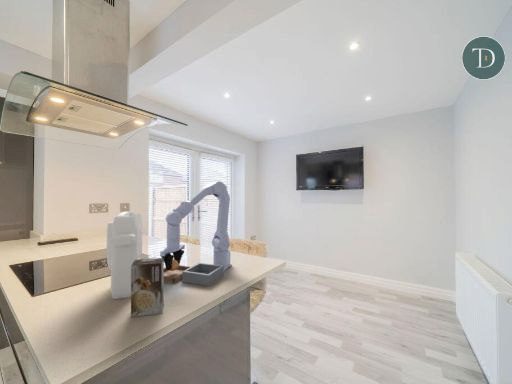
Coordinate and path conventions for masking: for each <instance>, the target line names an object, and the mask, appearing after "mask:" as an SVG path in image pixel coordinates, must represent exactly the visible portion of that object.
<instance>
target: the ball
mask: <svg viewBox="0 0 512 384" xmlns="http://www.w3.org/2000/svg"><path fill="white" fill-rule="evenodd" d="M179 265H180V264H179V263H178V261H177V260H174V259H173V261H172V269H171V270H170V271H175V270H176V269H177V268H178V266H179Z"/></svg>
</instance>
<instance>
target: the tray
mask: <svg viewBox="0 0 512 384" xmlns="http://www.w3.org/2000/svg"><path fill="white" fill-rule="evenodd" d="M190 267H191V266H187V265H182V264H181V265H180V264H179V266H178V268H177V269H176V270H175V271H170V270H166V266H164V283H165V284H171V285H174V284H176V283H179V282H180V281H182V271H184V270H186V269H188V268H190Z"/></svg>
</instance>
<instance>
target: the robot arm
mask: <svg viewBox="0 0 512 384" xmlns="http://www.w3.org/2000/svg"><path fill="white" fill-rule="evenodd" d="M207 196H214V197H215V198H216V199H217V200H218V209H217V211H218V212H217V219H216V220H217V222H216V231H215V233H214V236H213V238H212V241H211V244H212V246H213V260H212V261H213V265H221V266H224V269H223V272H225V270H228V268H229V267H231V266H232V265H233V263H231V251H230V249H229V248H230V245H231V242H230V240H229V239H230V237H229V234H228V223H229V222H228V221H229V212H230V201H231V196H230V195H229V192H228V186H227V185H226V184H225V183H224V182H222V181H211V182H209V183H208V184H207V185H204V186H203V188H202V189H200V191H198V192H197V193H196V194H195V195H194V196H193V197H191V198H190V199H189V200H185V201H181V202H180V204H179V205H178V206H177V207H176V208H173V209H172V212H169V213H167V214H166V217H165V221H166V223H167V224H166V246H164V249H163V250H161V251H160V252H159V256H160V258H164V267H166V270H171V269H172V261H173V260H177V261H178V263H179V265H180V264H181V260H182V257H183V256H184V253H185V249H186V248H185V246H186V245H185V244H181V234H180V233H181V228H180V227H181V223H182V220H183V219H185V218H186V217H187V216H188V215H189V214H190V213H191V212H193V210H194V209H195V205H197V204H198V203H199V202H201V201H202V200H203V199H205V197H207Z"/></svg>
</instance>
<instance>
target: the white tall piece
mask: <svg viewBox="0 0 512 384" xmlns="http://www.w3.org/2000/svg"><path fill="white" fill-rule="evenodd" d="M106 229H107V230H106V262H107V267H108V269H109V270H110V292H111V298H112V300H119V299H120V300H121V299H125V298H126V299H127V298H131V265H132V264H133V262H134V261H135V260H140V259H143V218H142V215H141V214H140V213H133V212H130V211H123V212H121V213H119V214H117V215H115V217H114V219H113V221H109V222H108V224H107V228H106Z"/></svg>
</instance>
